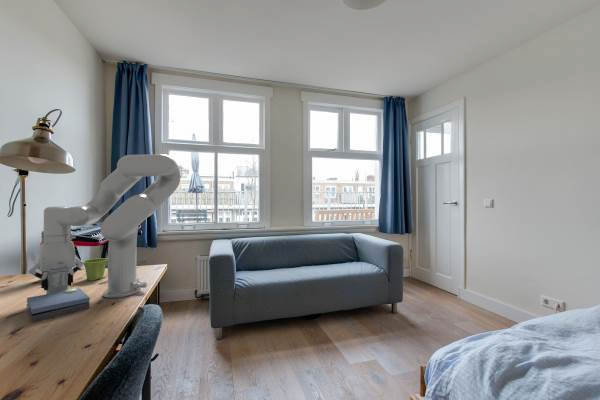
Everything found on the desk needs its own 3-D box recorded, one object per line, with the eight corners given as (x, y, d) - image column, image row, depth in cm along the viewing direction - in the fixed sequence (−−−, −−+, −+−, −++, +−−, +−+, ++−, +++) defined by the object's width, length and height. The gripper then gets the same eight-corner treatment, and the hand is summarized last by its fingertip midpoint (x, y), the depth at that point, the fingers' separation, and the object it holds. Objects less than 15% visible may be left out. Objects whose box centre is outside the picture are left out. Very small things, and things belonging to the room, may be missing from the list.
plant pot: (88, 276, 127) (88, 258, 127) (110, 275, 130) (111, 257, 130) (78, 282, 118) (78, 263, 118) (103, 280, 121) (103, 261, 121)
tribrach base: (79, 297, 100) (79, 292, 100) (89, 307, 91) (89, 302, 91) (26, 309, 89) (26, 304, 89) (32, 322, 80) (32, 316, 80)
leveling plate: (79, 292, 100) (79, 286, 100) (89, 301, 91) (89, 295, 91) (26, 302, 89) (27, 295, 89) (32, 314, 80) (32, 307, 80)
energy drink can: (69, 294, 103) (68, 256, 103) (67, 299, 98) (67, 259, 98) (47, 298, 99) (47, 258, 99) (45, 303, 95) (45, 262, 94)
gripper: (84, 236, 108) (84, 279, 108) (23, 241, 94) (23, 291, 94) (89, 237, 103) (89, 283, 103) (25, 243, 90) (25, 296, 90)
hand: (57, 286), depth 99 cm, fingers closed on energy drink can, 6 cm apart
